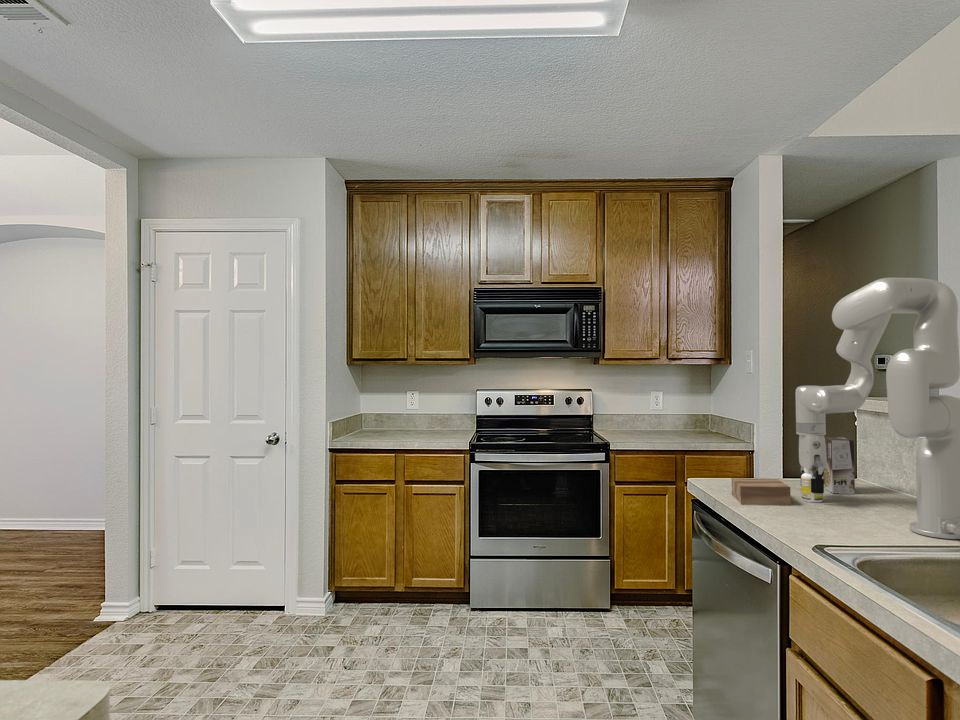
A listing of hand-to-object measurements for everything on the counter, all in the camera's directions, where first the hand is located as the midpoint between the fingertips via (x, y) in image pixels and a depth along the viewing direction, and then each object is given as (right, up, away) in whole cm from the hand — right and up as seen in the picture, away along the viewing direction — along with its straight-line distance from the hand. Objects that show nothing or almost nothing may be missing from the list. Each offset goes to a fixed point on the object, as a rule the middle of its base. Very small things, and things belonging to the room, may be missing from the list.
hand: (812, 489), depth 186 cm
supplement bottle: (0, -3, 0) cm, 3 cm away
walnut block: (-14, -3, +3) cm, 14 cm away
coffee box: (+15, -3, +13) cm, 20 cm away
